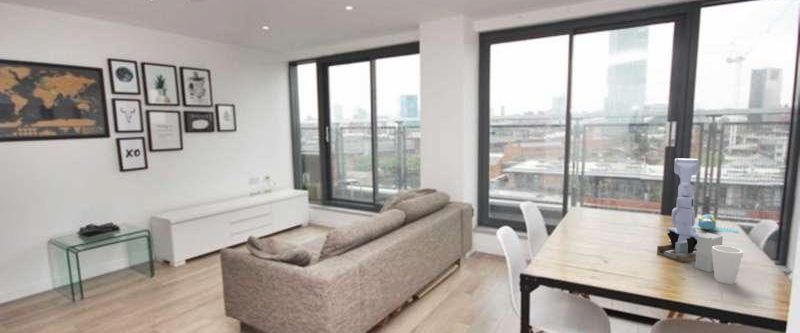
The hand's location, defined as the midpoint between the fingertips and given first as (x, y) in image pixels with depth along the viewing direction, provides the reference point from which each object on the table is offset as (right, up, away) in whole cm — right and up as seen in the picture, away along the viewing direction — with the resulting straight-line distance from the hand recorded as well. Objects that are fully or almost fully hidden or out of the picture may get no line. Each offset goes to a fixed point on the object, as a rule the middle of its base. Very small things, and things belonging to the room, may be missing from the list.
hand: (682, 250), depth 185 cm
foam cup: (-3, -7, -27) cm, 28 cm away
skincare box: (0, -5, -15) cm, 16 cm away
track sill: (+1, -3, +1) cm, 3 cm away
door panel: (+1, -2, 0) cm, 2 cm away
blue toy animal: (+43, +3, +41) cm, 59 cm away
